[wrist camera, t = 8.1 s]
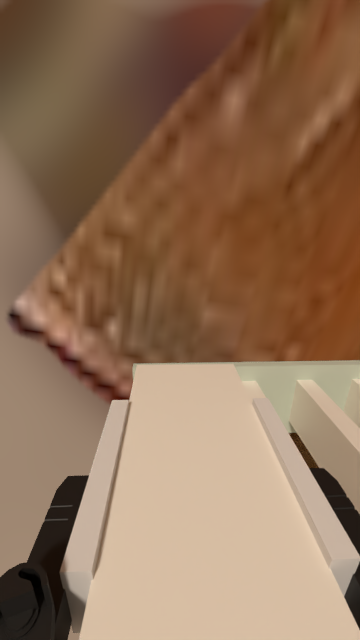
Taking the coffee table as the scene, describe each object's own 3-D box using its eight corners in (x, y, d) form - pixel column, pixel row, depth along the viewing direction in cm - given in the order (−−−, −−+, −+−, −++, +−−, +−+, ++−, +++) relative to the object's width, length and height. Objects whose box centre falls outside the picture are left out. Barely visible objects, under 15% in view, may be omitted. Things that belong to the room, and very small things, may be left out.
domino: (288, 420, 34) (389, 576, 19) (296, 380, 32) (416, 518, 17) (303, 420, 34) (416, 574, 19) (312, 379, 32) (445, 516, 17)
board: (133, 363, 31) (132, 368, 30) (445, 359, 33) (453, 363, 32) (136, 432, 34) (135, 438, 33) (419, 423, 37) (426, 428, 36)
